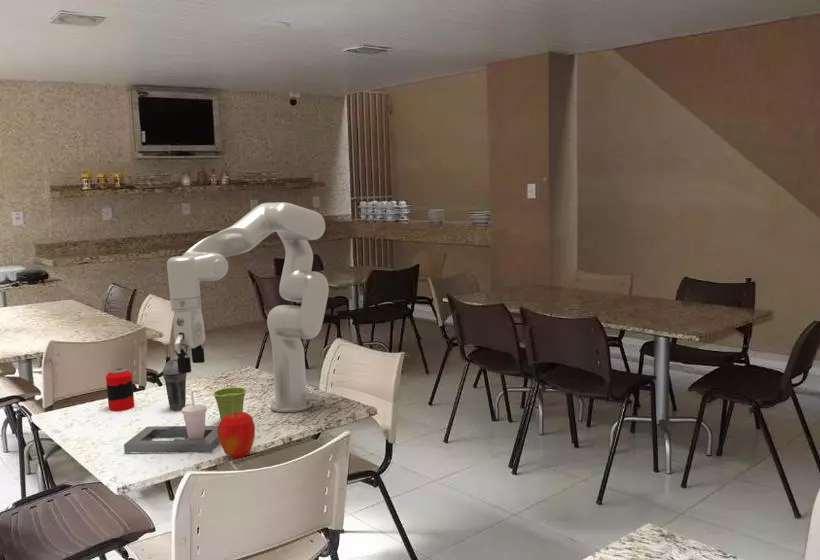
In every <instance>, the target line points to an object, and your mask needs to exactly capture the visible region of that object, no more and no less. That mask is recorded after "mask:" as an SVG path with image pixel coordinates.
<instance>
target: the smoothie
mask: <svg viewBox="0 0 820 560" xmlns="http://www.w3.org/2000/svg"><path fill="white" fill-rule="evenodd" d="M190 397H191V398H190V399H191V400H190V401H191V405H188V406H187V405H185V407H184V408H183V409H182V410H181V414H182V415H183V418H184V423H185V426H186V429H187V434H188V438H189V439H204V433H205V426H206V412H207V411H208V410H207V409H208V408H207V406H206V405H204V404H200V403H199V404H198V403H197V404H195V400H194V399H195V398H194V391H190Z"/></svg>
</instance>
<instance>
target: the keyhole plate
mask: <svg viewBox="0 0 820 560" xmlns="http://www.w3.org/2000/svg"><path fill="white" fill-rule="evenodd" d="M217 429H218V425H205V433H204V439H189V438H188V434H187V429H186V425H179V426H177V425H167V426H165V425H164V426H161V425H159V426H158V425H157V426H156V425H155V426H152V425H151V426H146V427H144V428H143V429H142V430H140V431H139V432H138V433H136V435H134V436H133V437H131V438H130V439H129V440H128V441H126V442H125V443H124V444H123V451H124V454H130V453H129V452H156V453H155V454H158V453H157V452H198V453H199V454H201V453H203V454H204V453H212V452H214V450H215V449H216V448H217V447H218V446H219V445H221V443H220V441H219V436H218V431H217ZM164 437H165V438H164ZM170 437H184V438H174V439H173V440H154V439H166V438H167V439H171V438H170ZM153 438H154V439H153ZM152 439H153V440H152ZM127 452H128V453H127Z"/></svg>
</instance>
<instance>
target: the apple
mask: <svg viewBox="0 0 820 560" xmlns="http://www.w3.org/2000/svg"><path fill="white" fill-rule="evenodd" d="M217 426H218V429H217V431H218V436H219V441H220V445H221V448H222V450H223V452H224V454H225V455H227V456H229V457H230V458H232V459H233V460H234V459H236V460H237V459H243V458H245V457H246V456H247V455H248V454H249V453H250V452H251V451H252V448H253V444H254V441H255V438H256V437H255V436H256V435H255V434H256V425H255V423H254V420H253V417H252V416H251V415H250V414H248V413H247V412H245V411H243V412H238V413H236V410H235V413H232V414H229V415H226V416H224V417H223V418H222V419H221V418H220V420H219V422H218V424H217Z"/></svg>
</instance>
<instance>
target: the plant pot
mask: <svg viewBox="0 0 820 560" xmlns="http://www.w3.org/2000/svg"><path fill="white" fill-rule="evenodd" d="M246 393H247V389H246V388H245V387H240V386H235V387H234V386H233V387H226V388H225V387H224V388H220V389H217V390H215V391H213V393H212V395H213V396H214V399H215V400H216V404H217V408H218V412H219V417H220V420H221V419H222V418H223V417H224V416H226V415H229V414H232V413H235V410H236V413H238V412H244V402H245V401H244V400H245V397H246Z"/></svg>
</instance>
